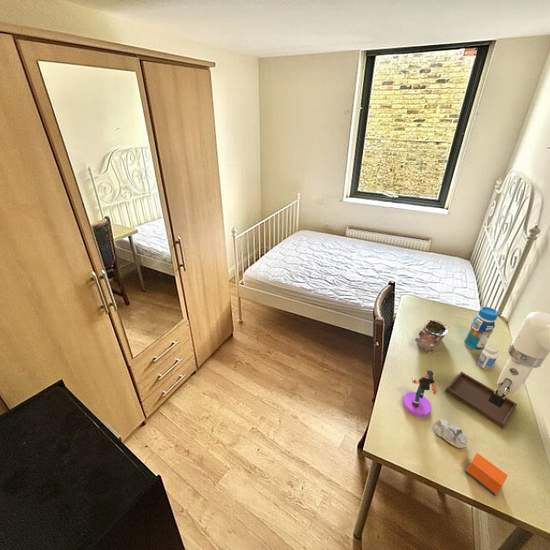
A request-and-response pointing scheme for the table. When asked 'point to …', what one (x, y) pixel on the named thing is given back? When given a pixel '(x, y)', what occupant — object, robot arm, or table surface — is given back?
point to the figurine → (420, 396)
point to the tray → (480, 399)
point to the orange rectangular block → (486, 474)
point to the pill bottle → (488, 357)
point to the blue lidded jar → (481, 329)
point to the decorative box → (431, 335)
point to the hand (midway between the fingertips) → (500, 395)
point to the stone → (451, 433)
